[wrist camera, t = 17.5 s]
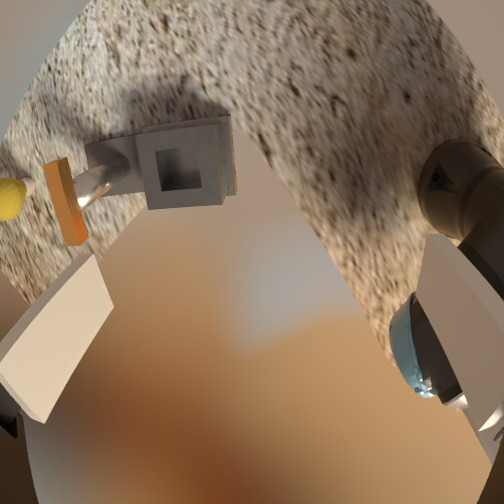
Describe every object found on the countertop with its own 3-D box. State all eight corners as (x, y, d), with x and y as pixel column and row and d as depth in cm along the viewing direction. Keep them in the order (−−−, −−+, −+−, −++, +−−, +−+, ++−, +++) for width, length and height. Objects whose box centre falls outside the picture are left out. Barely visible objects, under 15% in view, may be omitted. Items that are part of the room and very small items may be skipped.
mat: (149, 131, 36) (147, 132, 35) (158, 188, 40) (156, 190, 39) (88, 144, 36) (84, 145, 36) (99, 195, 40) (95, 197, 39)
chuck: (230, 115, 34) (223, 119, 29) (237, 190, 39) (231, 208, 34) (147, 125, 35) (126, 133, 30) (158, 196, 40) (141, 214, 35)
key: (102, 138, 35) (37, 167, 23) (124, 133, 35) (62, 160, 23) (115, 198, 40) (61, 246, 28) (136, 196, 39) (86, 244, 27)
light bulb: (26, 157, 37) (-14, 177, 28) (49, 182, 39) (10, 206, 31) (14, 185, 40) (-23, 208, 31) (35, 209, 42) (0, 236, 33)
